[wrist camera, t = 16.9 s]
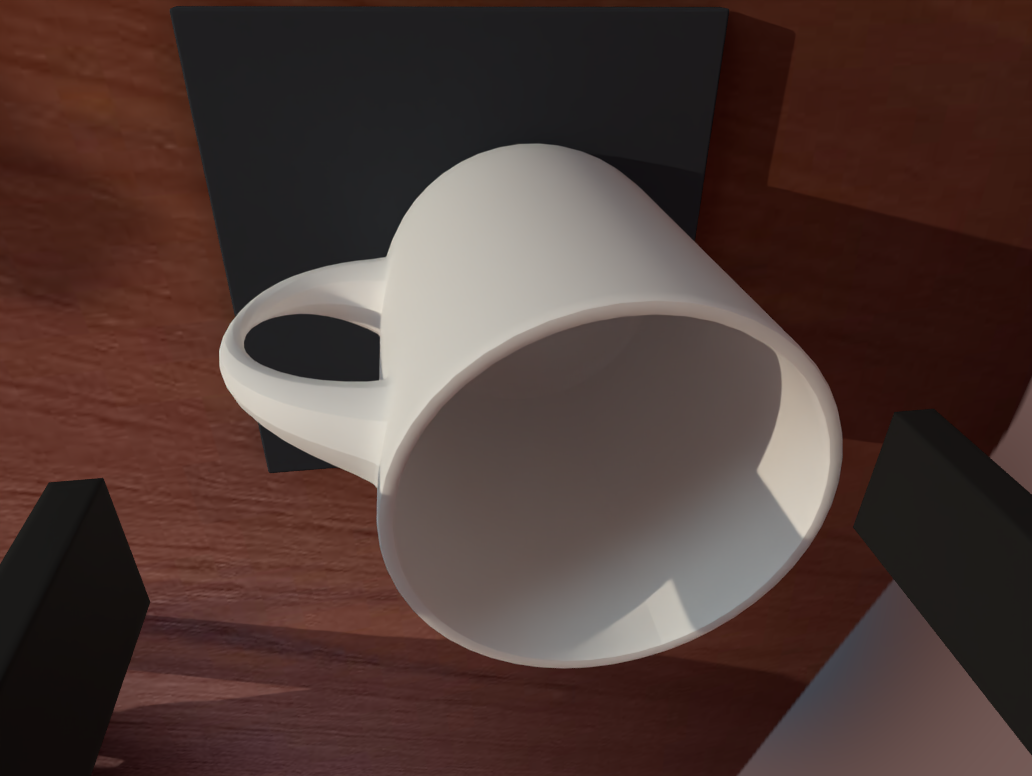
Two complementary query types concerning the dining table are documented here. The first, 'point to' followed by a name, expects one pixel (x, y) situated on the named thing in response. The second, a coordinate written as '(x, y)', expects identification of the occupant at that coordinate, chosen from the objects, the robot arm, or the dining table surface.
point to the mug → (560, 415)
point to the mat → (418, 132)
